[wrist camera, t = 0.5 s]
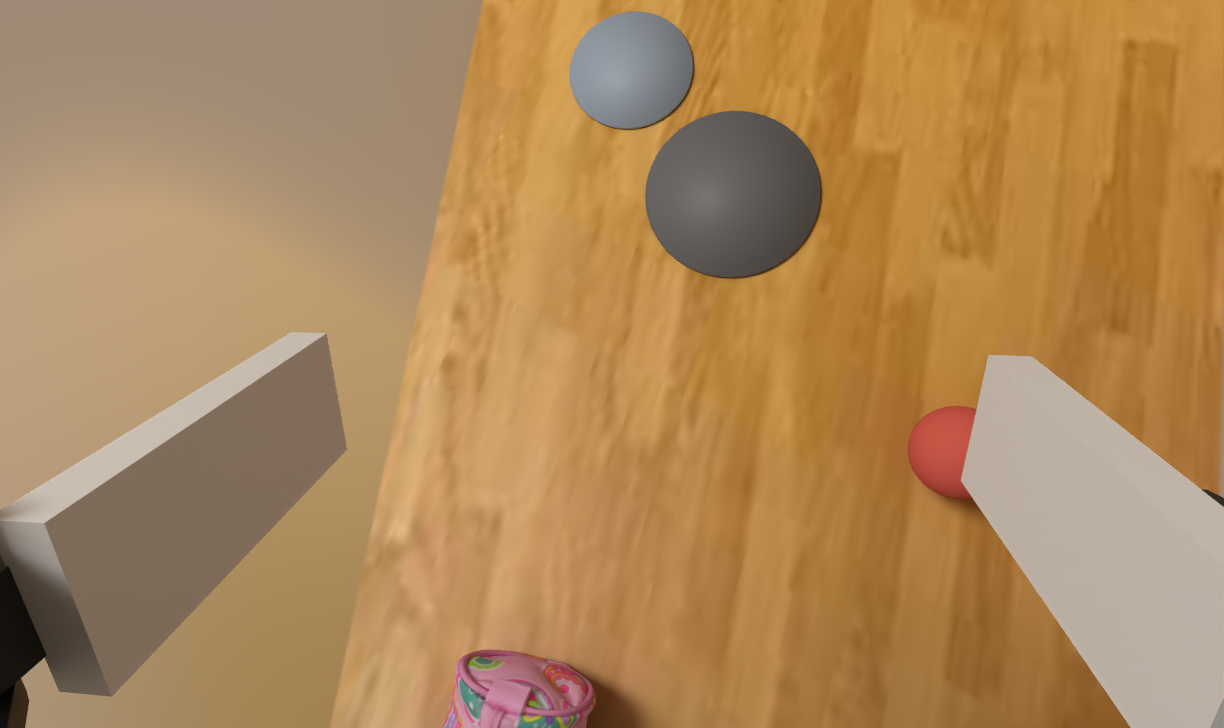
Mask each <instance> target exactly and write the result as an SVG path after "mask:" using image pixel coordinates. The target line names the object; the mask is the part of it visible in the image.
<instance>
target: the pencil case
mask: <svg viewBox="0 0 1224 728" xmlns="http://www.w3.org/2000/svg"><path fill="white" fill-rule="evenodd" d="M455 681H456V684H455V686H454V689H453V692H452V698H451V700H450V703H449V710H448V713H447V717H446V720H445V723H444V726H443V728H586V726H587V719H588V716H589V714H590V712H591V711H592V710H593V708H594V706H595V704H596V695H595V692H594V689H593V686H592V685H591V683H590V682H589V681H588V680H587V679H586V678H585V677H584V676H582V675H581V674H579V673H577V672H576V671H574V670H573V669H572V668H571V667H569V666H568V665H566V664H564V663H559V662H555V661H550V660H547V659H542V658H538V657H533V656H529V655H526V654H521V653H517V652H511V651H503V650H480V651H475V652H472V653H469V654H467V655H465V656H463V657H462V658H461V659H460V660H459V661H458V662H457V665H456V669H455Z"/></svg>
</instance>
